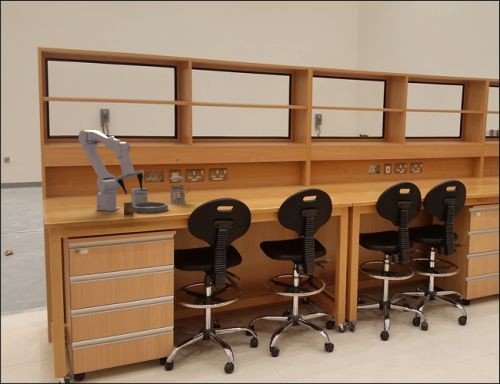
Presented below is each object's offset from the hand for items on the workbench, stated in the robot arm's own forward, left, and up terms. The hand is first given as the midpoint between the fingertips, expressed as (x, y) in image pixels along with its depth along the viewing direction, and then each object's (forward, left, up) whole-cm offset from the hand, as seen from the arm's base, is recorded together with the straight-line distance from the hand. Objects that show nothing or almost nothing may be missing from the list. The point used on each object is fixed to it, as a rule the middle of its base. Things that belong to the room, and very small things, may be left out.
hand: (134, 191), depth 240 cm
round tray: (+3, +13, -11) cm, 17 cm away
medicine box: (-9, +27, -11) cm, 31 cm away
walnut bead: (-2, -1, -11) cm, 12 cm away
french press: (+10, +38, -11) cm, 40 cm away
